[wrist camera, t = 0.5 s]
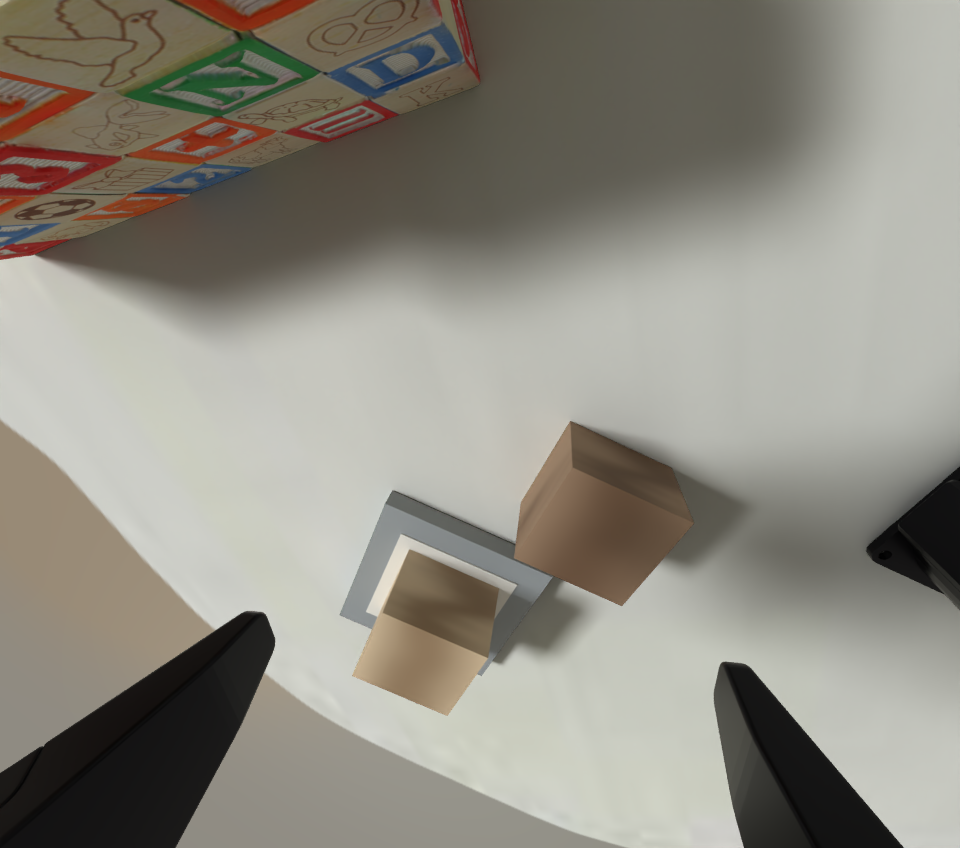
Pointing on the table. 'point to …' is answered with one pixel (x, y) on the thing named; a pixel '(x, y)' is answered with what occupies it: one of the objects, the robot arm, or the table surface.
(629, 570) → the walnut block
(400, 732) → the table surface
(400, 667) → the oak block
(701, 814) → the table surface
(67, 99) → the stack of blocks
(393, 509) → the grey flat square
